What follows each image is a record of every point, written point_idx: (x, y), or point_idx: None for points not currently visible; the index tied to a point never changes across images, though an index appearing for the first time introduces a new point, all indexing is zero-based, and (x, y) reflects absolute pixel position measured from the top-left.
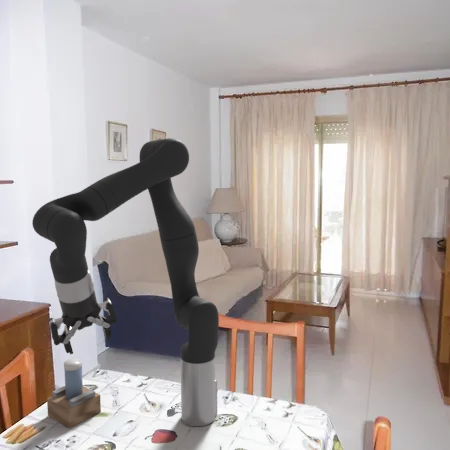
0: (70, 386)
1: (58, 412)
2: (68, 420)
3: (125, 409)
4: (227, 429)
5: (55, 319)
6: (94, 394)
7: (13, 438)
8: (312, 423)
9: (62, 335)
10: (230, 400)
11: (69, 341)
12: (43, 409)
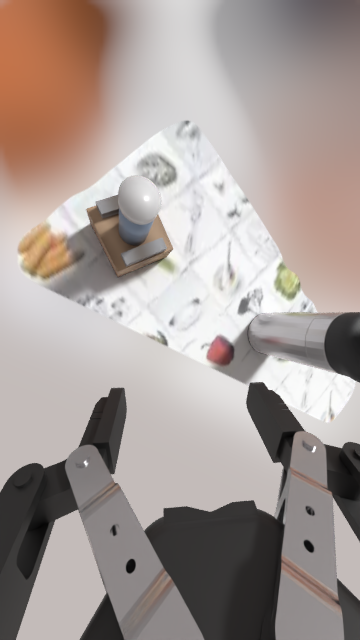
0: (127, 233)
1: (104, 247)
2: (117, 274)
3: (197, 269)
4: (279, 368)
5: None
6: (164, 250)
7: (32, 261)
8: (342, 391)
9: (71, 492)
10: None
11: (111, 466)
12: (84, 197)
